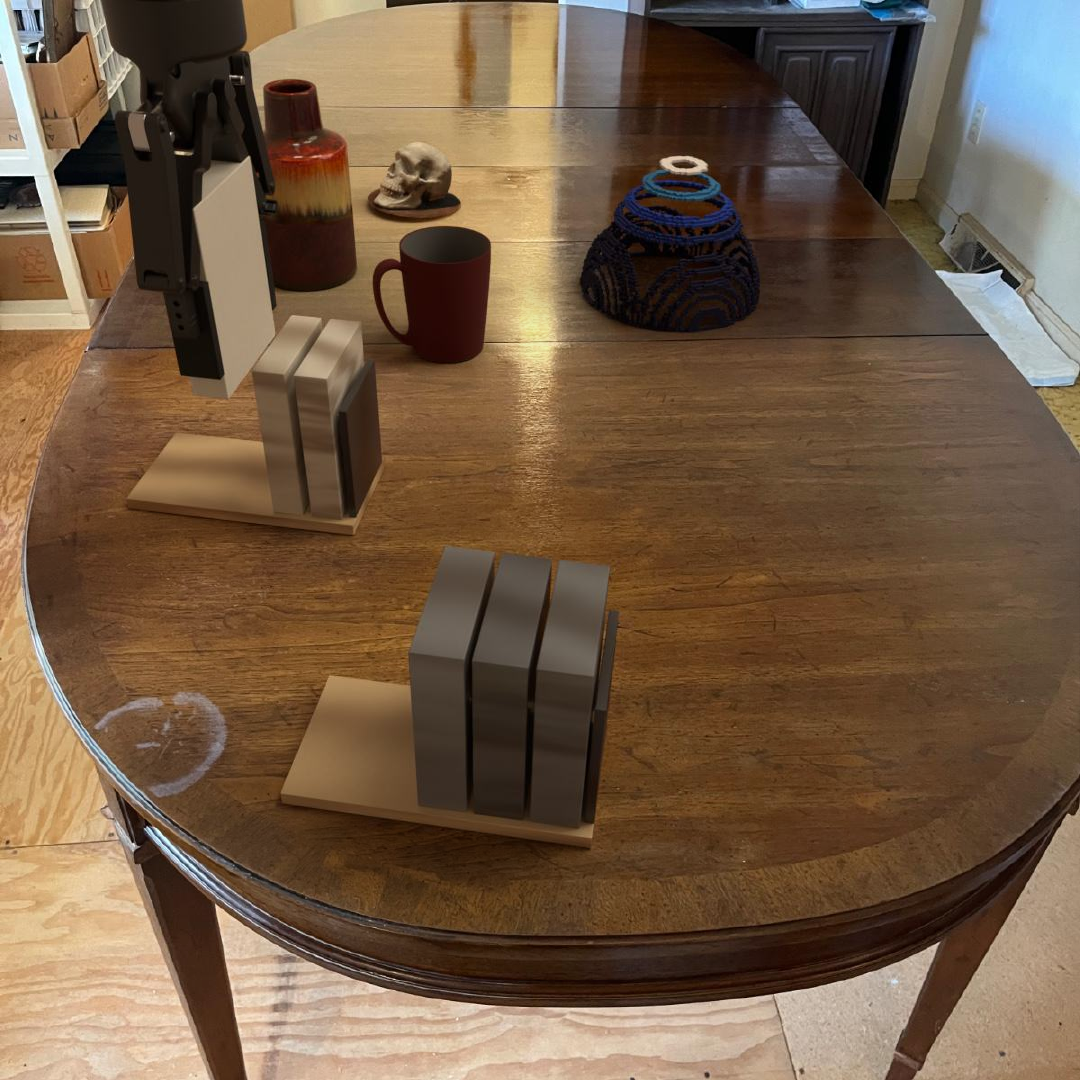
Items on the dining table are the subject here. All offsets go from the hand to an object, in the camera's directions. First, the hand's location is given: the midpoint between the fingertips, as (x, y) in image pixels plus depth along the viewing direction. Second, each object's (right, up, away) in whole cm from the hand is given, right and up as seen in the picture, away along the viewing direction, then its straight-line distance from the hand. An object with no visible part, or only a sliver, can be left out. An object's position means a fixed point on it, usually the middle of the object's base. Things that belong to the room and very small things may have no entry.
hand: (231, 338), depth 73 cm
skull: (+5, +30, +66) cm, 73 cm away
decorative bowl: (+36, +15, +49) cm, 63 cm away
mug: (+10, +6, +37) cm, 39 cm away
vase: (-5, +17, +50) cm, 53 cm away
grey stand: (+15, -28, -5) cm, 32 cm away
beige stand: (-2, -9, +17) cm, 20 cm away
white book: (0, -2, +1) cm, 2 cm away
